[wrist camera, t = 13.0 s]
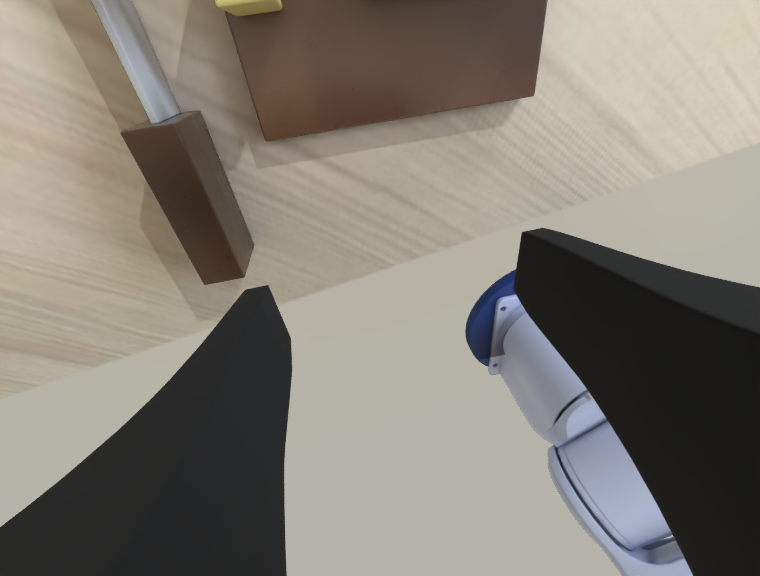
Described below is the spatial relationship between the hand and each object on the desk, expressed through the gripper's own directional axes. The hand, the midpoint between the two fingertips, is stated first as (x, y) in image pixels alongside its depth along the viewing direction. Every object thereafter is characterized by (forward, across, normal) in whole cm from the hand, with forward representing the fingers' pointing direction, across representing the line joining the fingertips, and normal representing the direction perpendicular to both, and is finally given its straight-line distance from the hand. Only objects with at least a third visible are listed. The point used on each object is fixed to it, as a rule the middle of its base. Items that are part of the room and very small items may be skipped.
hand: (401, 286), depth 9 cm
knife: (+10, +8, -4) cm, 13 cm away
